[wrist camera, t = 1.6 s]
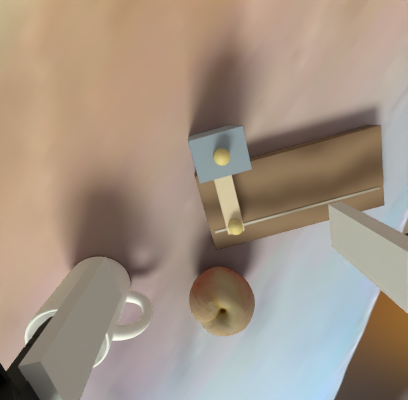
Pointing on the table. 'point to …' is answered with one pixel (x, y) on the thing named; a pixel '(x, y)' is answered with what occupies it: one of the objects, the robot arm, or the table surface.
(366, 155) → the board
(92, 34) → the table surface
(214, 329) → the fruit
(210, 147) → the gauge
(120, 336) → the mug
